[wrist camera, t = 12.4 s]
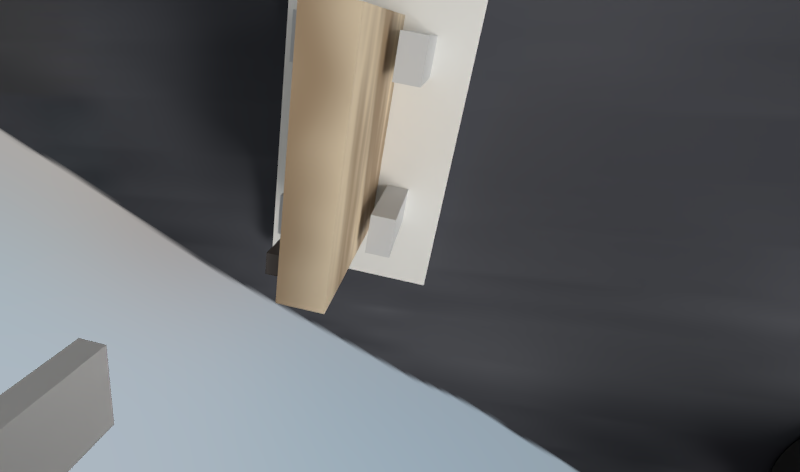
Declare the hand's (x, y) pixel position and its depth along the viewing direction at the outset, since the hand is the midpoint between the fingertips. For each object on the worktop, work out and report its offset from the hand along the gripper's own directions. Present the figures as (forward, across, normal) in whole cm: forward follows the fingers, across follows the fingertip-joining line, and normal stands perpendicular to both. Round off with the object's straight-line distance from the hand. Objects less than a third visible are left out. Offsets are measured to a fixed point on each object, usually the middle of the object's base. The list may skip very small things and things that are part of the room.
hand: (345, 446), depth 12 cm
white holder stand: (+24, +5, -4) cm, 25 cm away
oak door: (+22, +5, -4) cm, 23 cm away
